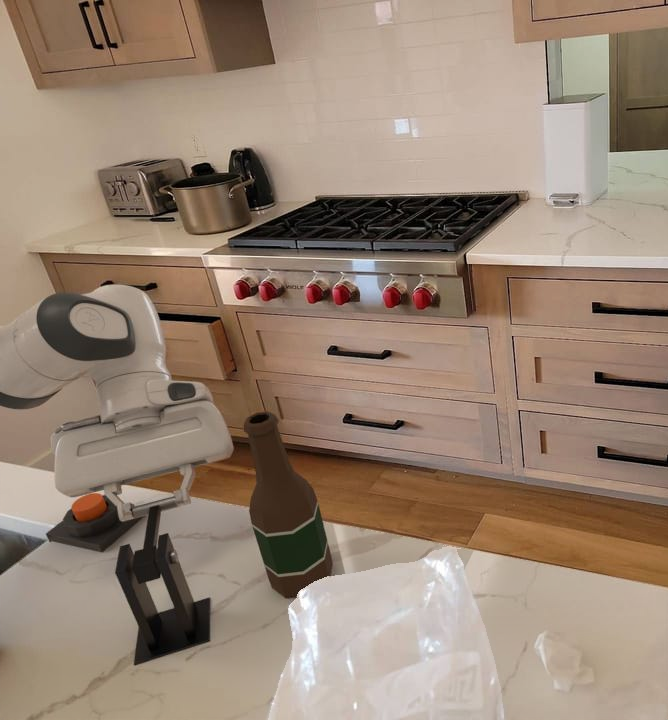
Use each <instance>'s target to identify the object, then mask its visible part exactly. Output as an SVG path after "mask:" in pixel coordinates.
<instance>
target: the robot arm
mask: <svg viewBox="0 0 668 720" xmlns="http://www.w3.org/2000/svg"><path fill="white" fill-rule="evenodd" d="M165 340H166V339H165V335H164V331H163V326H162V322H161V318H160V316H159V314H158V310H157V309H156V306H155V304H154V303H153V301H152V299H151V298H150V296H149V295H148V294H147V293H146V292H145V291H143V290H141V289H140V288H137V287H135V286H131V285H127V284H118V283H117V284H115V283H114V284H106V285H102V286H100V287H97V288H96V289H94V290H93V291H91V292H87V293H75V292H70V291H69V292H68V291H62V292H56V293H53V294H51V295H48V296H47V297H45V298H43V299H41V300H40V301H38V302H37V303H35V304H34V305H33V306H31V307H30V308H28V309H27V310H25V311H23V312H22V313H21V314H20V315H19V316H17V317H16V318H15V319H13V320H11V322H9V323H8V324H6V325H0V407H3V408H7V409H11V410H31V409H34V408H37V407H40V406H42V405H44V404H45V403H46V402H48V401H50V399H52V398H53V397H54V396H55V395H57V394H58V393H59V392H60V391H62V390H63V388H65V387H67V386H69V385H70V384H72V383H73V382H75V381H77V380H78V379H80V378H81V377H82V378H90V379H92V380H93V381H94V383H95V391H96V392H95V393H96V399H97V404H98V412H99V415H94V416H89V417H86V418H83V419H80V420H75V421H68V422H64V423H63V424H61V427H59V428H56V430H55V431H53V433H52V435H50V448H51V453H52V455H53V457H54V467H53V468H54V470H53V471H54V486H55V489H56V490H57V491H58V492H59V493H61V494H62V495H63V496H66V497H69V498H79V497H83V496H85V495H88V494H92V493H98V492H102V491H103V493H104V495H106V496H107V497H108V498H109V499H110V500H111V501H112V502H113V504H114V505H115V506H117V509H118V515H119V519H120V521H127V520H131V519H134V516H133V513H132V507H134V506H135V504H134V503H132V502H126V503H125V502H124V501H123V500H122V499H121V498H120V496H119V495H122V494H123V488H122V486H125V485H128V484H132V483H133V484H134V483H136V482H141V481H145V480H149V479H153V478H156V477H160V476H164V475H168V474H171V473H176V472H179V474H180V475H181V476H182V477H183V479H182V483H181V486H180V488H179V489H176V490H173V491H172V492H173V496H174V497H176V499H175V503H176V505H177V506H178V507H177V508H179V507H182V506H187V505H190V504H191V503H192V501H191V495H190V491H191V488H192V485H193V483H194V480H195V478H196V476H197V475H196V470H195V468H196V467H200V466H205V465H207V464H210V463H211V464H212V463H215V462H220V461H223V460H227V459H229V458H230V457H231V456H232V455H233V452H234V450H235V448H234V443H233V439H232V436H231V432H230V430H229V428H228V425H227V423H226V421H225V419H224V416H223V415H222V413H221V412H220V410H219V409H218V407H217V406H216V405H215V404H214V397H213V394H212V392H211V390H210V389H209V388H208V386H206V385H205V384H204V383H202V382H200V381H188V380H173V377H172V374H171V373H170V371H169V369H168V366H167V364H166V363H167V362H166V357H167V344H166V341H165Z"/></svg>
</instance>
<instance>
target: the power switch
mask: <svg viewBox="0 0 668 720" xmlns="http://www.w3.org/2000/svg"><path fill="white" fill-rule="evenodd" d="M134 553H135V552H134V551H133V548H132V546H131V544H130V543H125V544H123V545H120V546H119V550H118V555H117V561H116V566H115V570H114V573H115V576H116V578H117V581H118V583H119V585H120V588H121V589H122V592H123V594H124V597H125V599H126V602H127V603H128V605H129V608H130V610H131V612H132V615H133V617H134V620H135V622H136V624H137V626H138V629H137V636H136V644H135V652H134V659H133V666H138V665H140V664H144V663H147V662H150V661H153V660H156V659H159V658H162V657H166V656H169V655H173V654H175V653H179V652H181V651H184V650H189V649H191V648H194V647H198V646H200V645H203V644H206V643H209V642H211V605H212V604H211V603H212V601H211V599H212V598H211V597H205V598H203V599H200V600H196V601H195V600H194V597H193V595H192V593H191V592H192V591H191V589H190V587H189V584H188V582H187V579H186V577H185V574H184V571H183V568H182V565H181V563H180V560H179V555H178V552H177V550H176V549H175V546H174V545H173V542H172V539H171V536H170V534H169V532H166V533H162V534H158V539H157V555H156V563H157V565H158V568H159V570H160V573H161V578H162V581H163V583H164V585H165V587H166V590H167V593H168V596H169V598H170V600H171V603H172V606H173V608H170V609H167V610H162V611H160V612H159V611H158V608H157V606H156V604H155V602H154V599H153V597H152V594H151V592H150V590H149V587H148V584H147V582H145V583H142V584H139V583H138V581H137V578H136V576H135V574H134V571H133V569H132V565H133V559H134Z"/></svg>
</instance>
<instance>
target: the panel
mask: <svg viewBox="0 0 668 720" xmlns="http://www.w3.org/2000/svg"><path fill="white" fill-rule="evenodd" d="M101 495H102V496H103V498H104V500H105V503H106V505H107V510H106V511H105V512H104V513H103V514H101V515H100V516H99V517H96V518H94V519H92V520H88V521H83V522H79V521H77V520H76V518H75V515H74V513H73V511H72V509H71V508H69V509H68V510H67V511H66V513H65V514H64V516H63V518H62V521H60V522H59V523H58V524H56V525H55V526H54V527H52V528H51V529H49V530H48V531H47V532H46V533H45V535H46V538H47V540H48V542H49V543H51V542H54V543H57V544H61V545H62V544H63V545H66V546H71V547H76V548H80V549H84V550H89V551H93V552H98V553H104V552H105V551H106V550H107V549H108V548H109V547H111V546H112V545H113V544H114V543H115V542H117V541H118V540H119V539H120V538H121V537H122V536H124V534H126V533H127V532H128V531H129V530H130V529H131V528H133V527H134V526H135V525H136V524H138V522H140V521H141V520H142V519H143V518H145V517H147V516H143V517H139V518H134V519H131V520H127V521H120V519H119V515H118V509H117V506H115V505H114V504H113V502H112V501H111V500H110V499H109V498H108V497H107V496H106V495H105V494H101Z"/></svg>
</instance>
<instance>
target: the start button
mask: <svg viewBox="0 0 668 720" xmlns="http://www.w3.org/2000/svg"><path fill="white" fill-rule="evenodd" d="M102 495H103V494H102V493H98V492H94V493H90V494H86V495H82V496H80V497H78V499H76V500H75V501H74V502H73V503H72V504H71V507H70V509H72V511H73V513H74V515H75V518H76V520H77V521H79V522H83V521H88V520H92V519H94V518H96V517H99V516H100V515H101V514H103V513H104V512H105V511H106V510H107V505H106V503H105V500H104V498H103V496H102Z"/></svg>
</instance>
